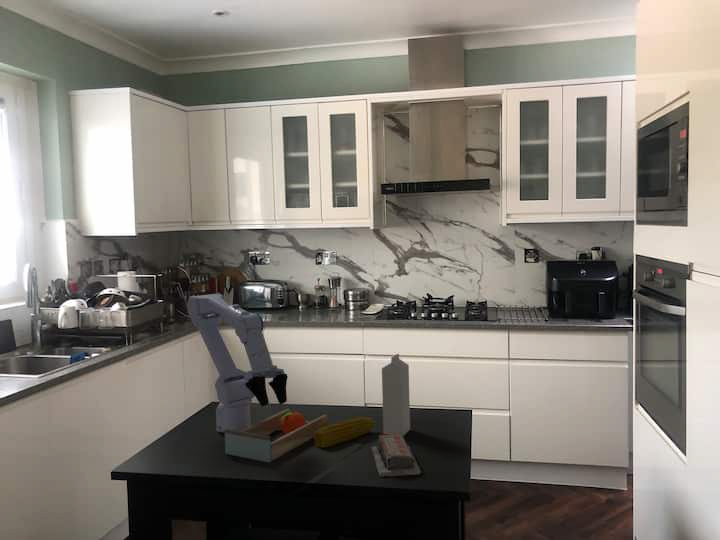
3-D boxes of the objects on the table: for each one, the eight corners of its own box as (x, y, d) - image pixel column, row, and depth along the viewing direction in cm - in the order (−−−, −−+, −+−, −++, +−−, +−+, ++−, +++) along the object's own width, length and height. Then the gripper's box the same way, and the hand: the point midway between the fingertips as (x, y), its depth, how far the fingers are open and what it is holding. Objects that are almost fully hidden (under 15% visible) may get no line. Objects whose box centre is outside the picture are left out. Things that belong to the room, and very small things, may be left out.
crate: (228, 455, 168) (227, 436, 168) (287, 425, 191) (287, 408, 191) (272, 464, 161) (271, 444, 161) (327, 431, 184) (327, 414, 184)
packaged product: (370, 433, 169) (408, 431, 170) (371, 451, 169) (408, 449, 170) (379, 459, 151) (420, 456, 152) (379, 479, 152) (421, 476, 152)
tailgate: (225, 453, 167) (224, 429, 166) (227, 452, 168) (226, 428, 167) (268, 462, 160) (267, 437, 160) (271, 461, 161) (270, 436, 160)
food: (326, 454, 168) (325, 431, 167) (311, 449, 172) (310, 427, 171) (379, 432, 183) (378, 411, 183) (364, 428, 187) (363, 408, 186)
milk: (410, 429, 184) (409, 353, 182) (403, 436, 179) (402, 358, 177) (390, 427, 187) (388, 352, 185) (382, 434, 181) (381, 357, 179)
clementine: (284, 443, 176) (283, 418, 175) (273, 436, 182) (272, 412, 181) (310, 437, 180) (309, 412, 180) (299, 430, 186) (298, 406, 185)
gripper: (251, 350, 165) (267, 400, 161) (286, 349, 177) (302, 396, 173) (232, 361, 168) (247, 410, 164) (267, 360, 180) (283, 405, 176)
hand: (274, 404), depth 169 cm, fingers open, 7 cm apart
